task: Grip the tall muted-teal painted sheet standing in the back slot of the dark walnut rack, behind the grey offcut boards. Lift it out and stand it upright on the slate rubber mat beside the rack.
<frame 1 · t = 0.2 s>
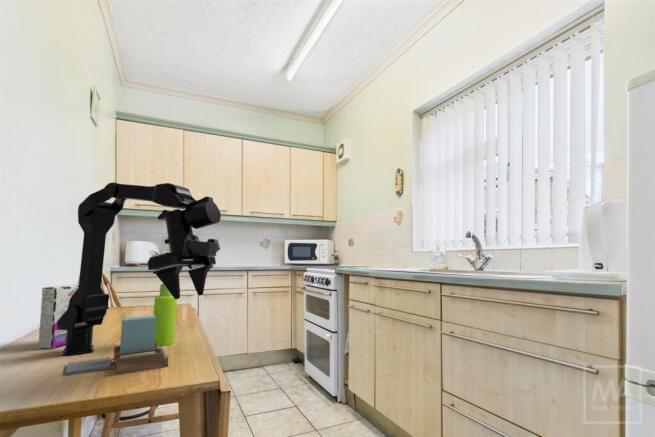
hand: (189, 297, 83), 15 cm above the table, tool pointing down, fingers open, 9 cm apart
candy bar box: (63, 344, 99), on the table
soap dispenser: (163, 343, 100), on the table
slate mat: (88, 367, 78), on the table
offcut stack: (139, 368, 78), resting in walnut rack
walnut rack: (137, 362, 81), on the table
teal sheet: (136, 360, 83), resting in walnut rack
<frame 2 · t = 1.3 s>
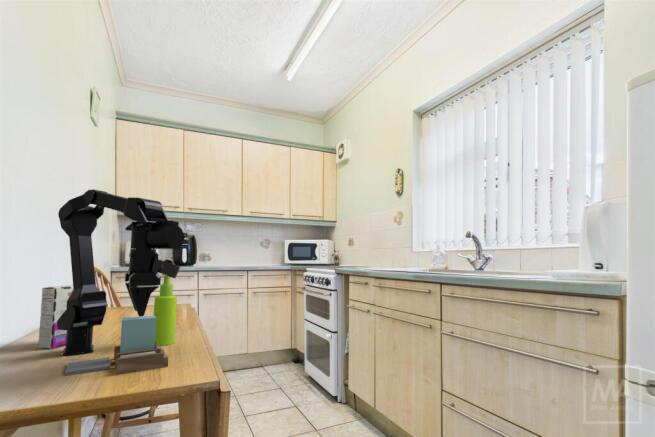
hand: (139, 313, 85), 11 cm above the table, tool pointing down, fingers open, 9 cm apart
nothing on the table moved.
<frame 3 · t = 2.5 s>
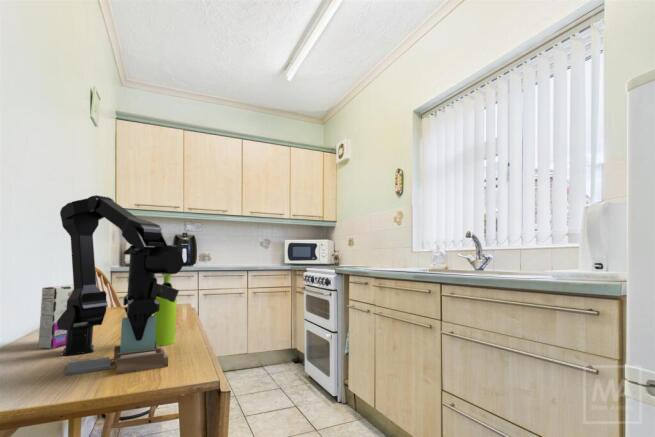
hand: (138, 338, 84), 5 cm above the table, tool pointing down, fingers closed on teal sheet, 4 cm apart
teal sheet: (136, 360, 83), resting in walnut rack, touching gripper
everything else where it was.
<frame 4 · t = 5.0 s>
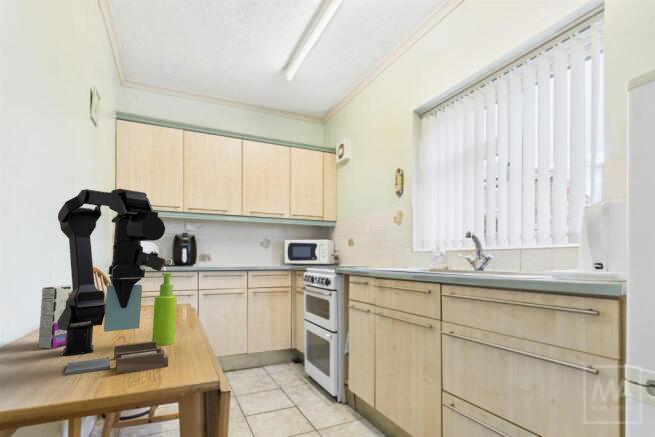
hand: (123, 306, 83), 13 cm above the table, tool pointing down, fingers closed on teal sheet, 4 cm apart
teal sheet: (121, 328, 82), point 8 cm above the table, touching gripper
everything else where it was.
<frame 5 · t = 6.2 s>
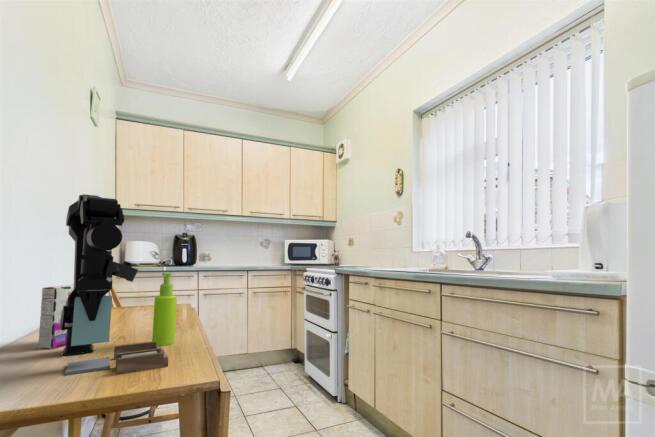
hand: (92, 319, 79), 10 cm above the table, tool pointing down, fingers closed on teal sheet, 4 cm apart
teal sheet: (90, 342, 79), point 5 cm above the table, touching gripper
everything else where it was.
when the fingers open (7 cm above the table, at t = 7.2 s): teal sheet drops 1 cm, resting on slate mat.
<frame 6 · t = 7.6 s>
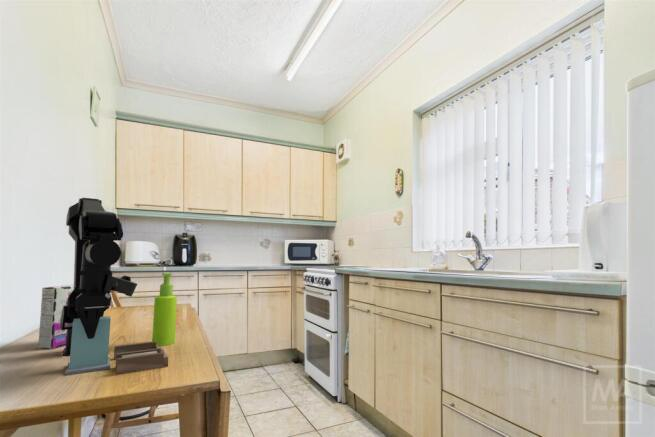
hand: (91, 335, 79), 7 cm above the table, tool pointing down, fingers open, 8 cm apart
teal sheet: (88, 364, 78), point 1 cm above the table, touching slate mat
everything else where it was.
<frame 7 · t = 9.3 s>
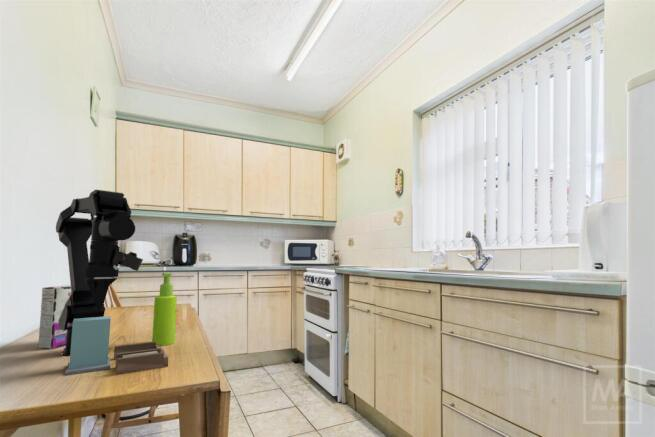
hand: (99, 305, 84), 13 cm above the table, tool pointing down, fingers open, 9 cm apart
nothing on the table moved.
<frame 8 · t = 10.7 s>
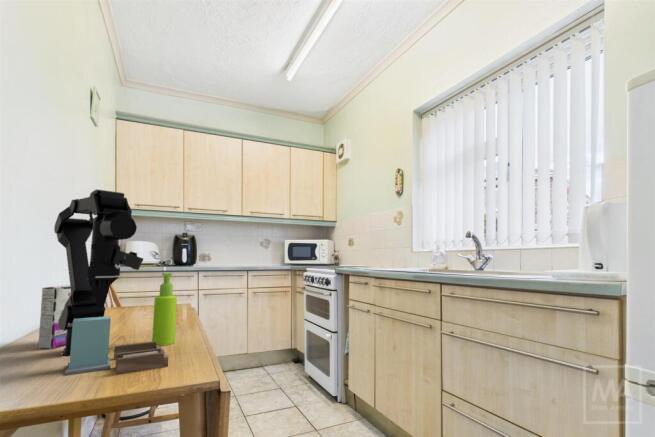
hand: (100, 304, 84), 13 cm above the table, tool pointing down, fingers open, 9 cm apart
nothing on the table moved.
at the end: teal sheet inside the target area (0.0 cm from its centre), point 0.6 cm above the table; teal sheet tilted 0°; the gripper is holding nothing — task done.
